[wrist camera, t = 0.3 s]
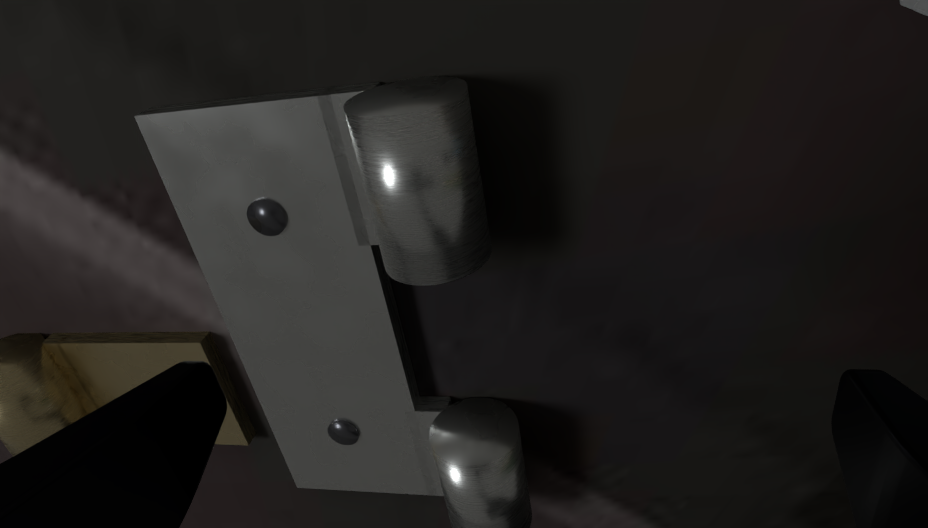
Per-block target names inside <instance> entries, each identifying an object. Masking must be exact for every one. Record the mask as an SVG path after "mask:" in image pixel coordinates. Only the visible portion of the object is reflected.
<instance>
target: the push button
mask: <svg viewBox="0 0 928 528" xmlns="http://www.w3.org/2000/svg"><path fill="white" fill-rule="evenodd" d="M900 5H902V6H905V7H907V8H910V9H913V10H914V11H916V12H919V13H921V14H924V15H926V16H928V0H900Z"/></svg>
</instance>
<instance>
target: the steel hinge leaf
mask: <svg viewBox="0 0 928 528" xmlns="http://www.w3.org/2000/svg"><path fill="white" fill-rule="evenodd" d="M134 117H135V119H136V121H137V123H138V126H139V128H140V130H141V132H142V135H143V137H144V139H145V142H146V144H147V146H148V148H149V151H150V153H151V155H152V158H153V160H154V162H155V164H156V167H157V169H158V171H159V174H160V176H161V178H162V180H163V183H164V185H165V187H166V189H167V192H168V194H169V196H170V199H171V201H172V203H173V205H174V208H175V210H176V212H177V215H178V217H179V219H180V221H181V224H182V226H183V228H184V230H185V233H186V235H187V237H188V240H189V242H190V244H191V246H192V249H193V251H194V253H195V256H196V258H197V260H198V262H199V265H200V267H201V269H202V271H203V274H204V276H205V278H206V281H207V283H208V285H209V287H210V290H211V292H212V294H213V297H214V299H215V301H216V303H217V306H218V308H219V310H220V313H221V315H222V317H223V319H224V322H225V324H226V326H227V328H228V331H229V333H230V335H231V338H232V340H233V342H234V344H235V347H236V349H237V351H238V354H239V356H240V358H241V360H242V363H243V365H244V367H245V369H246V372H247V374H248V376H249V379H250V381H251V383H252V385H253V388H254V390H255V392H256V395H257V397H258V399H259V401H260V404H261V406H262V408H263V411H264V413H265V415H266V417H267V420H268V422H269V424H270V426H271V429H272V431H273V433H274V436H275V438H276V440H277V442H278V445H279V447H280V449H281V452H282V454H283V456H284V458H285V461H286V463H287V465H288V467H289V470H290V472H291V474H292V477H293V479H294V481H295V483H296V486H297V488H313V489H330V490H348V491H365V492H383V493H400V494H418V495H435V496H444V498H445V502H446V506H447V510H448V513H449V517H450V521H451V525H452V528H530V525H531V521H532V510H531V503H530V496H529V490H528V483H527V477H526V470H525V463H524V457H523V450H522V444H521V437H520V430H519V424H518V419H517V417H516V415H515V413H514V412H513V410H512V409H511V408H510V407H509V406H507V405H506V404H504V403H502V402H500V401H498V400H495V399H491V398H483V397H475V398H468V399H464V400H461V401H458V402H456V403H453V404H452V403H451V399H450V397H432V396H420V394H419V390H418V386H417V382H416V379H415V375H414V371H413V367H412V363H411V359H410V355H409V351H408V347H407V344H406V340H405V336H404V332H403V328H402V324H401V320H400V316H399V312H398V309H397V305H396V301H395V297H394V293H393V289H392V285H391V281H390V277H391V278H393V279H394V280H396V281H398V282H401V283H404V284H409V285H417V286H427V285H438V284H443V283H448V282H452V281H455V280H458V279H461V278H463V277H465V276H468V275H470V274H471V273H473V272H475V271H476V270H478V269H479V268H481V267H482V266H483V265H484V264H485V263H486V262H487V261H488V259H489V258H490V255H491V252H492V246H491V239H490V233H489V226H488V219H487V213H486V206H485V200H484V193H483V186H482V180H481V173H480V167H479V160H478V153H477V147H476V140H475V134H474V127H473V120H472V114H471V107H470V101H469V94H468V87H467V83H466V82H465V81H464V80H462V79H460V78H456V77H448V76H430V77H419V78H412V79H406V80H400V81H396V82H391V83H387V84H383V85H380V82H374V83H365V84H357V85H348V86H339V87H330V88H321V89H312V90H303V91H294V92H285V93H276V94H267V95H258V96H250V97H241V98H232V99H223V100H214V101H205V102H196V103H187V104H178V105H169V106H160V107H151V108H149V109H147V110H145V111H143V112H141V113H139V114H137V115H135V116H134ZM389 276H390V277H389Z"/></svg>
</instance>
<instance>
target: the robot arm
mask: <svg viewBox="0 0 928 528" xmlns="http://www.w3.org/2000/svg"><path fill="white" fill-rule="evenodd" d="M226 412H227V400H226V397H225V395H224V393H223V390H222V388H221V386H220V384H219V382H218V379H217V377H216V375H215V373H214V371H213V369H212V367H211V366H210V365H209V364H208V363H207V362H204V361H183V362H179V363H177V364H176V365H174V366H172V367H170V368H168V369H167V370H165V371H163V372H161V373H160V374H158V375H156V376H154V377H153V378H151V379H149V380H147V381H146V382H144V383H142V384H140V385H139V386H137V387H135V388H133V389H131V390H130V391H128V392H126V393H124V394H123V395H121V396H119V397H117V398H116V399H114V400H112V401H110V402H109V403H107V404H105V405H103V406H102V407H100V408H98V409H96V410H94V411H93V412H91V413H89V414H87V415H86V416H84V417H82V418H80V419H79V420H77V421H75V422H73V423H72V424H70V425H68V426H66V427H65V428H63V429H61V430H59V431H57V432H56V433H54V434H52V435H50V436H49V437H47V438H45V439H43V440H42V441H40V442H38V443H36V444H35V445H33V446H31V447H29V448H28V449H26V450H24V451H22V452H20V453H19V454H17V455H15V456H13V457H12V458H10V459H8V460H6V461H5V462H3V463H1V464H0V528H179V527H180V525H181V523H182V521H183V519H184V517H185V515H186V513H187V511H188V509H189V507H190V504H191V502H192V500H193V497H194V495H195V493H196V490H197V488H198V485H199V483H200V480H201V478H202V475H203V473H204V470H205V467H206V465H207V462H208V460H209V457H210V455H211V452H212V449H213V447H214V444H215V442H216V439H217V437H218V434H219V431H220V429H221V426H222V424H223V421H224V419H225V416H226ZM832 434H833V438H834V442H835V446H836V450H837V454H838V458H839V462H840V466H841V470H842V474H843V477H844V481H845V485H846V489H847V493H848V497H849V501H850V505H851V509H852V512H853V516H854V520H855V524H856V528H928V401H926V400H925V399H924V398H922V397H921V396H919V395H918V394H916V393H915V392H914V391H912V390H911V389H909V388H908V387H906V386H905V385H903V384H902V383H901V382H899V381H898V380H896V379H895V378H893V377H892V376H891V375H889V374H888V373H886V372H884V371H881V370H860V369H850V370H847V371H845V372H844V373H843V374H842V376H841V379H840V382H839V387H838V392H837V396H836V401H835V405H834V410H833V414H832Z"/></svg>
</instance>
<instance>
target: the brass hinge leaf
mask: <svg viewBox="0 0 928 528" xmlns="http://www.w3.org/2000/svg"><path fill="white" fill-rule="evenodd" d="M183 361H204V362H207V363H208V364H209V365H210V366H211V367H212V369H213V371H214V373H215V375H216V377H217V379H218V382H219V384H220V386H221V388H222V390H223V393H224V395H225V397H226V400H227V412H226V416H225V419H224V421H223V424H222V426H221V429H220V431H219V434H218V437H217V439H216V442H215V444H226V445H249V444H250V442H251V441H252V439H253V437H254V436H255V434H256V432H255V430H254V428H253V426H252V423H251V421H250V419H249V417H248V415H247V413H246V410H245V408H244V406H243V404H242V402H241V400H240V397H239V395H238V393H237V391H236V389H235V386H234V384H233V382H232V380H231V378H230V376H229V373H228V371H227V369H226V367H225V365H224V363H223V360H222V358H221V356H220V354H219V352H218V349H217V347H216V345H215V343H214V341H213V339H212V336H211V334H210V332H118V333H53V334H51V335H50V336H49V337H48V338H47V339H44V337H43V336H42V335H41V334H40V333H18V334H14V335H10V336H7V337H4V338H2V339H0V439H1V441H2V442H3V443H4V445H5V446H6V447H7V449H8V450H9V451H10V453H11V454H12V455H13V456H15V455H17V454H19V453H20V452H22V451H24V450H26V449H28V448H29V447H31V446H33V445H35V444H36V443H38V442H40V441H42V440H43V439H45V438H47V437H49V436H50V435H52V434H54V433H56V432H57V431H59V430H61V429H63V428H65V427H66V426H68V425H70V424H72V423H73V422H75V421H77V420H79V419H80V418H82V417H84V416H86V415H87V414H89V413H91V412H93V411H94V410H96V409H98V408H100V407H102V406H103V405H105V404H107V403H109V402H110V401H112V400H114V399H116V398H117V397H119V396H121V395H123V394H124V393H126V392H128V391H130V390H131V389H133V388H135V387H137V386H139V385H140V384H142V383H144V382H146V381H147V380H149V379H151V378H153V377H154V376H156V375H158V374H160V373H161V372H163V371H165V370H167V369H168V368H170V367H172V366H174V365H176V364H177V363H179V362H183Z"/></svg>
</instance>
